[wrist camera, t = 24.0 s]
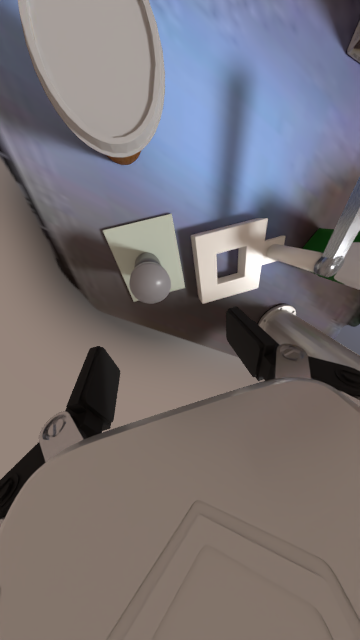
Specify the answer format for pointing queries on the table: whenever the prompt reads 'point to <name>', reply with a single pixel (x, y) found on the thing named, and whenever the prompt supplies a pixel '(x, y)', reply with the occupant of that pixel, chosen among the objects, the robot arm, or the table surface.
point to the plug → (149, 279)
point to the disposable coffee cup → (99, 69)
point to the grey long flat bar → (341, 237)
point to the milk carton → (356, 265)
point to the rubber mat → (147, 247)
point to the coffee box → (355, 45)
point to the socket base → (242, 257)
